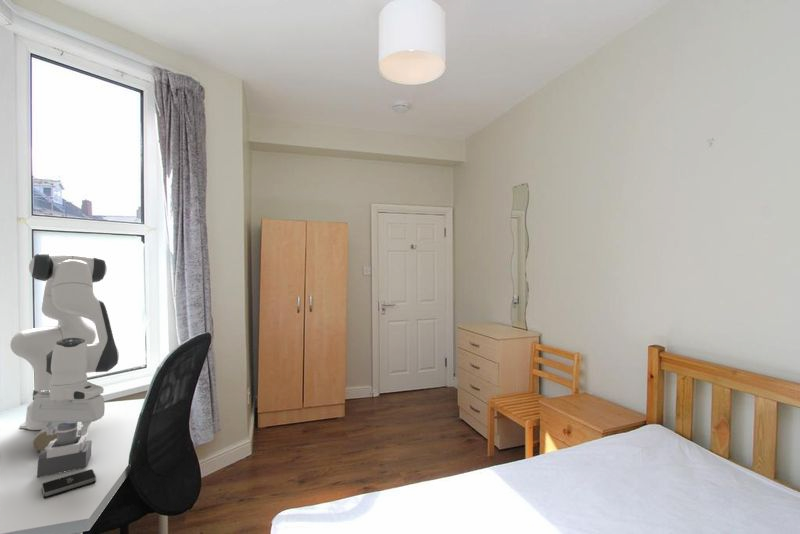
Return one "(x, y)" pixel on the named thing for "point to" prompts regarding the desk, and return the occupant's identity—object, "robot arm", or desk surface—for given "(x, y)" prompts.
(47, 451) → the camera body
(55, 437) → the ceramic mug
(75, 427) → the lens
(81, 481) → the external hard drive
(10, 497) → the desk surface
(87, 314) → the robot arm
